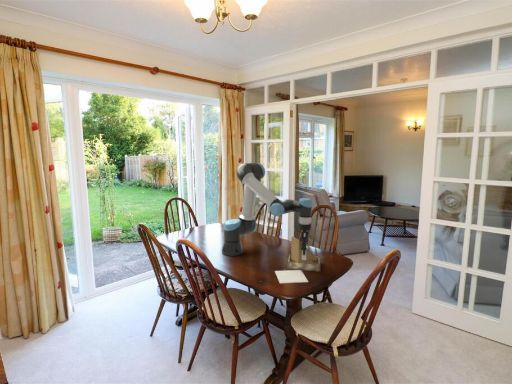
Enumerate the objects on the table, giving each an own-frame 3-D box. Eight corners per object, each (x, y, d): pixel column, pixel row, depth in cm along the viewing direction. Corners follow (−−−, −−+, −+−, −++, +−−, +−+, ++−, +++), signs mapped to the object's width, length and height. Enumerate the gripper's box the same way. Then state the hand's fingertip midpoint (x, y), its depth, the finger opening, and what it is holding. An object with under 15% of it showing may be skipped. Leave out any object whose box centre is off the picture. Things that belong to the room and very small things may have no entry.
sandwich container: (318, 259, 185) (319, 237, 183) (298, 263, 179) (298, 240, 177) (311, 255, 193) (311, 233, 191) (291, 258, 187) (291, 236, 185)
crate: (287, 269, 181) (287, 261, 180) (289, 260, 195) (289, 253, 194) (320, 271, 177) (320, 264, 176) (319, 262, 192) (319, 255, 191)
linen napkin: (280, 284, 161) (280, 282, 161) (274, 272, 177) (274, 271, 177) (308, 283, 163) (308, 281, 163) (300, 271, 179) (300, 269, 179)
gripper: (311, 228, 169) (310, 263, 172) (311, 218, 194) (310, 249, 197) (298, 228, 171) (297, 262, 174) (299, 218, 195) (298, 248, 198)
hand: (304, 255), depth 185 cm, fingers open, 13 cm apart
